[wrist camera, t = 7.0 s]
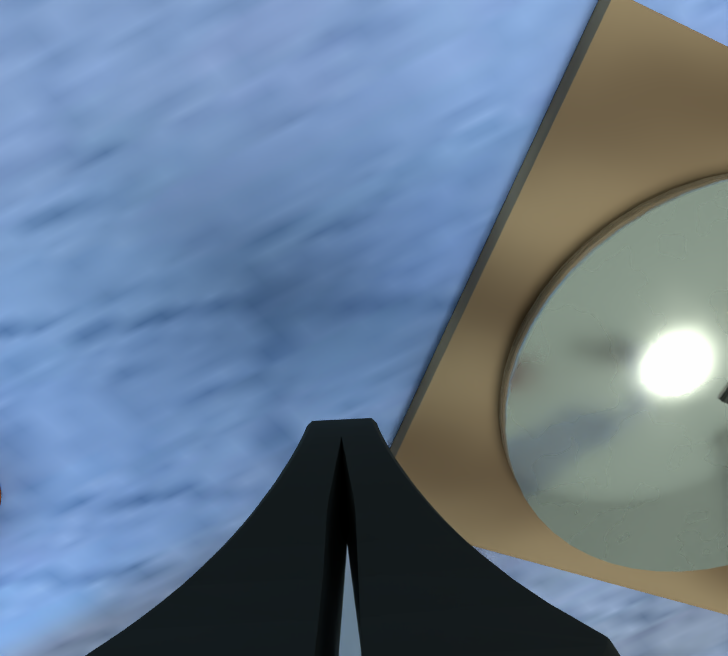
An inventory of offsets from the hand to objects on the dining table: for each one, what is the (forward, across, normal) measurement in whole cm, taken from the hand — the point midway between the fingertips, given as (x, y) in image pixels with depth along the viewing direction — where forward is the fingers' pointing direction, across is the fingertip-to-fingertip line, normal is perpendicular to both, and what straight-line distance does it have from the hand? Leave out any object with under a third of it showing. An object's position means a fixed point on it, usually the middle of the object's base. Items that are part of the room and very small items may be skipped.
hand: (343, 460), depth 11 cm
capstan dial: (+8, -14, +3) cm, 16 cm away
